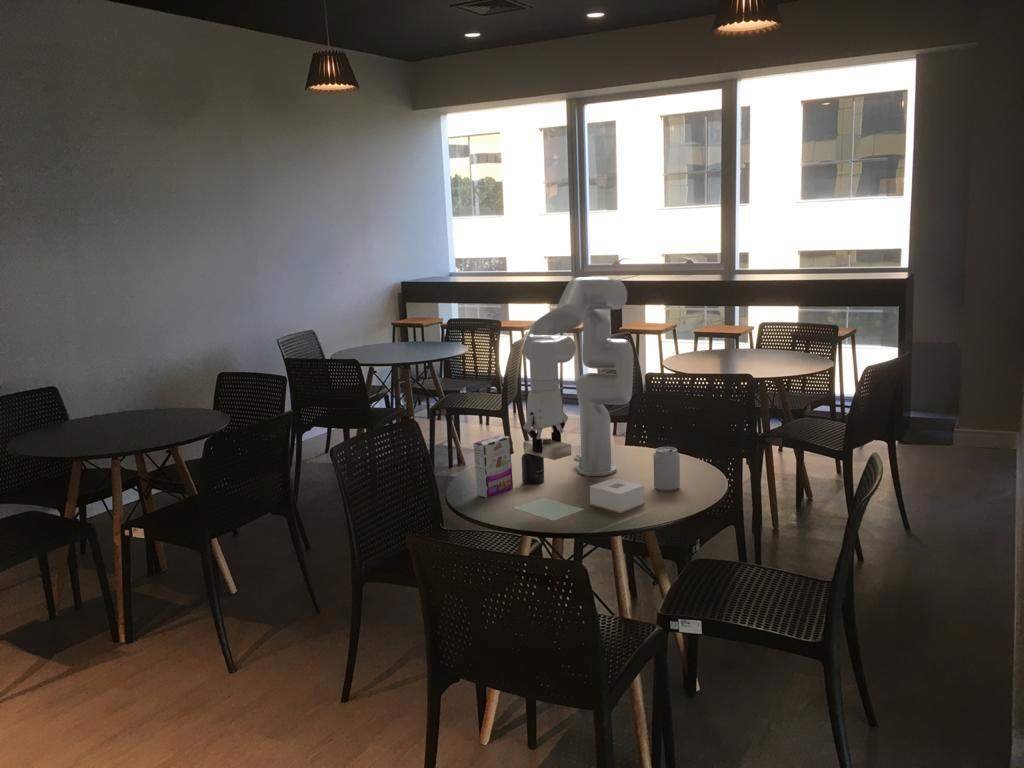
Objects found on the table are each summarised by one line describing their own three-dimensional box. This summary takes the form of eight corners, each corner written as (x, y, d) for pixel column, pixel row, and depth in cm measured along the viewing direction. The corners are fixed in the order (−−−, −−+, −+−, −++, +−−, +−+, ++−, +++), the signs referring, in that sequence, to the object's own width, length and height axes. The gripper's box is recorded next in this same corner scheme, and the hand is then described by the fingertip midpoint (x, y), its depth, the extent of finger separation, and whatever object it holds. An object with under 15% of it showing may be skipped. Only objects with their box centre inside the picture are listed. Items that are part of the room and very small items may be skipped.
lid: (523, 452, 232) (523, 438, 231) (540, 447, 236) (540, 433, 235) (554, 460, 223) (553, 445, 222) (571, 454, 227) (570, 440, 226)
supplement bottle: (542, 486, 254) (541, 448, 252) (520, 486, 255) (519, 448, 253) (546, 480, 261) (544, 442, 259) (524, 479, 262) (522, 442, 260)
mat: (513, 509, 234) (512, 507, 234) (543, 499, 242) (543, 497, 242) (553, 522, 222) (553, 520, 222) (584, 511, 230) (584, 509, 230)
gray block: (590, 506, 234) (589, 486, 233) (614, 498, 240) (613, 478, 239) (620, 515, 226) (620, 493, 224) (644, 506, 232) (644, 485, 231)
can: (679, 492, 243) (679, 452, 241) (653, 492, 244) (652, 452, 242) (680, 484, 250) (679, 445, 248) (654, 484, 252) (653, 445, 249)
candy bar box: (501, 486, 256) (498, 434, 253) (513, 489, 253) (511, 436, 250) (475, 496, 248) (472, 442, 245) (487, 499, 245) (484, 444, 242)
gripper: (557, 379, 234) (560, 441, 237) (511, 388, 223) (514, 454, 226) (577, 381, 229) (579, 445, 232) (530, 391, 217) (533, 458, 221)
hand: (547, 449), depth 229 cm, fingers closed on lid, 6 cm apart
